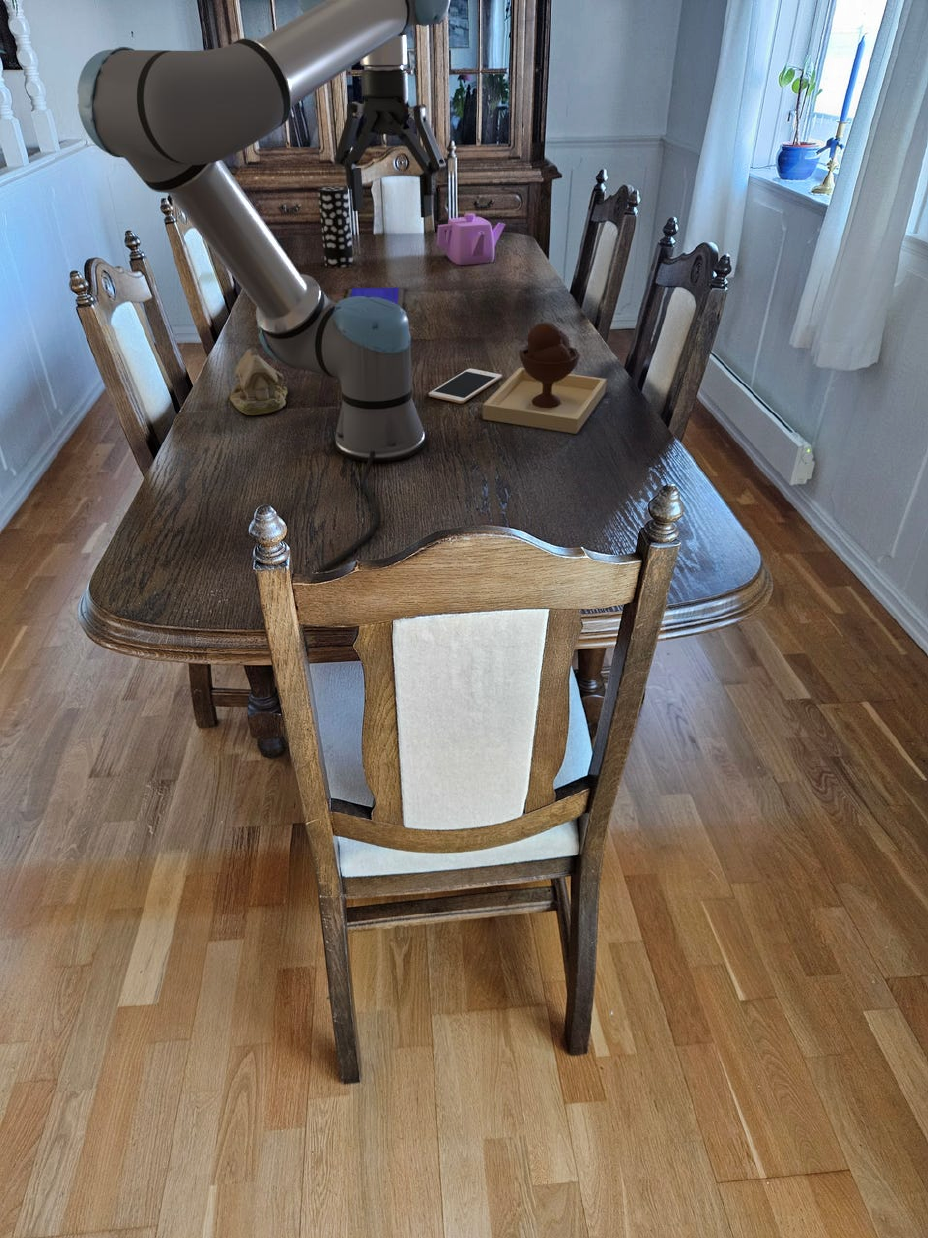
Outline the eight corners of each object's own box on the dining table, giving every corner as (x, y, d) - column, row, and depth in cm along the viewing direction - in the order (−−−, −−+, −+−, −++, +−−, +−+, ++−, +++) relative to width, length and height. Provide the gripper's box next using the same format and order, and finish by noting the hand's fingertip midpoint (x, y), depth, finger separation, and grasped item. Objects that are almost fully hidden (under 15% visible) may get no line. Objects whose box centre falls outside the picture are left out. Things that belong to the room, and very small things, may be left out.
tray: (576, 434, 146) (577, 419, 144) (482, 419, 151) (482, 404, 150) (605, 392, 162) (606, 378, 160) (519, 380, 167) (519, 367, 165)
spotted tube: (321, 262, 244) (314, 187, 232) (348, 259, 247) (342, 184, 235) (329, 268, 238) (322, 191, 226) (357, 265, 241) (351, 189, 229)
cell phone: (502, 377, 168) (502, 374, 167) (462, 404, 157) (462, 400, 156) (469, 370, 171) (469, 367, 171) (427, 396, 160) (427, 393, 160)
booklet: (343, 319, 199) (343, 316, 199) (352, 290, 219) (352, 287, 219) (395, 318, 199) (395, 315, 199) (399, 290, 219) (399, 287, 219)
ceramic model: (226, 392, 162) (217, 341, 156) (283, 384, 165) (276, 334, 159) (237, 419, 152) (227, 365, 146) (297, 410, 155) (290, 357, 149)
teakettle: (457, 249, 257) (456, 206, 249) (507, 255, 250) (508, 210, 243) (431, 262, 244) (430, 216, 237) (482, 268, 238) (483, 221, 231)
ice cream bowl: (573, 415, 151) (579, 333, 142) (512, 410, 153) (515, 329, 144) (578, 394, 159) (585, 314, 150) (521, 390, 161) (524, 311, 152)
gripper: (464, 68, 131) (465, 214, 144) (330, 64, 139) (342, 203, 152) (443, 71, 126) (446, 222, 138) (305, 67, 134) (320, 210, 147)
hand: (391, 212), depth 145 cm, fingers open, 13 cm apart
